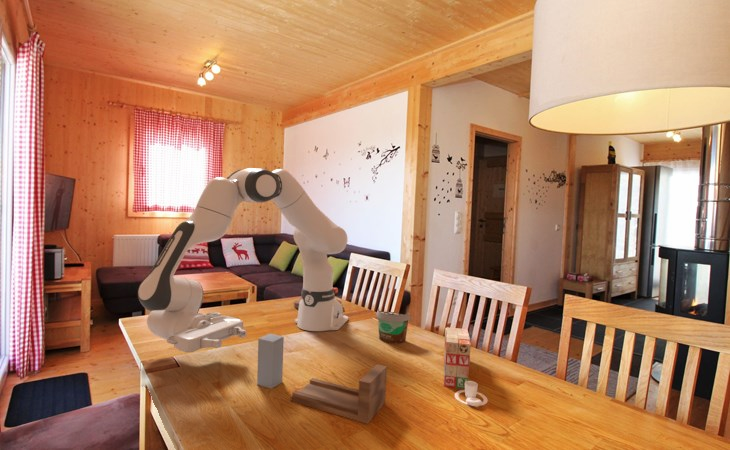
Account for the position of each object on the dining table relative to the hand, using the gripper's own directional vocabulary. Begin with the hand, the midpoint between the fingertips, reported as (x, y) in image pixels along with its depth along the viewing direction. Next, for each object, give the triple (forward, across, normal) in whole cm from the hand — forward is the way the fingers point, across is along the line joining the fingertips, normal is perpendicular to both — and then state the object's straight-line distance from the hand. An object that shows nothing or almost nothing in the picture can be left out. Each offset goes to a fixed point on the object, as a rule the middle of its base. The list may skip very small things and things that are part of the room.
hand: (232, 339), depth 107 cm
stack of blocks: (+53, +32, +9) cm, 63 cm away
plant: (-14, +69, +8) cm, 70 cm away
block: (+12, +1, +9) cm, 15 cm away
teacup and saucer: (+58, +16, +10) cm, 61 cm away
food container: (+28, +46, +9) cm, 54 cm away
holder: (+32, +1, +9) cm, 34 cm away
